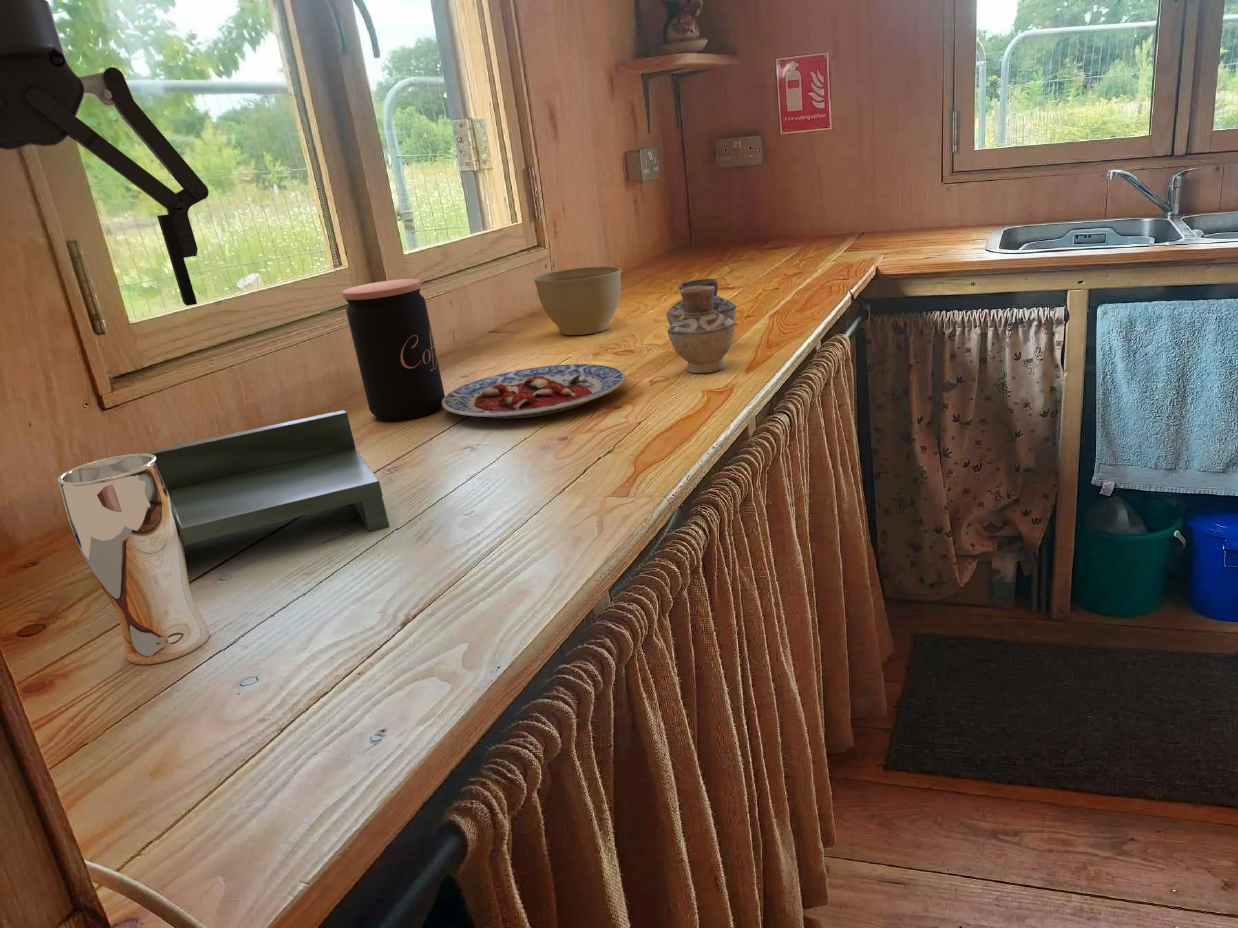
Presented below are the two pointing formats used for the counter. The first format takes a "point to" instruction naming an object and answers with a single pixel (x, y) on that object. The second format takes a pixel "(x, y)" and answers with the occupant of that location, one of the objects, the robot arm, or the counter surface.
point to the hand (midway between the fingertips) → (90, 321)
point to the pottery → (701, 325)
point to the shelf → (269, 477)
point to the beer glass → (135, 553)
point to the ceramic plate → (533, 391)
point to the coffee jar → (395, 349)
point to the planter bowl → (580, 298)
